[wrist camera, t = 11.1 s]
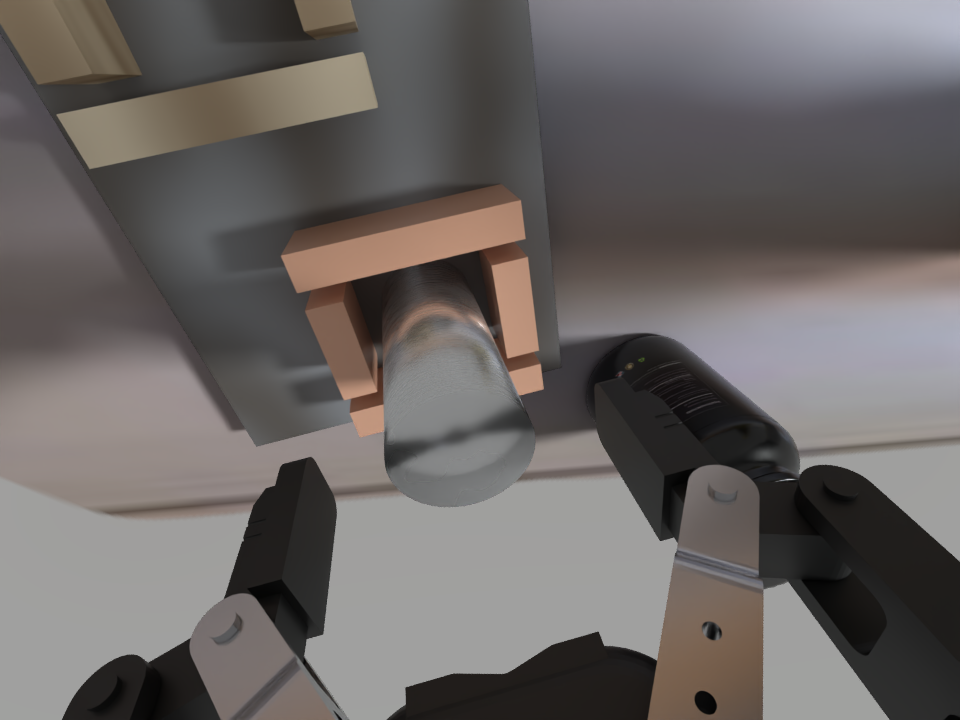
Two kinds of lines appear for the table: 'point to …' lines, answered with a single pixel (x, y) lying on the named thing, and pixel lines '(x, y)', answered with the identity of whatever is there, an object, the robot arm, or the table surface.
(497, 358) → the peg
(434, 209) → the socket
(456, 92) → the mount board
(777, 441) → the supplement bottle
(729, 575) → the robot arm
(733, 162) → the table surface
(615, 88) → the table surface
